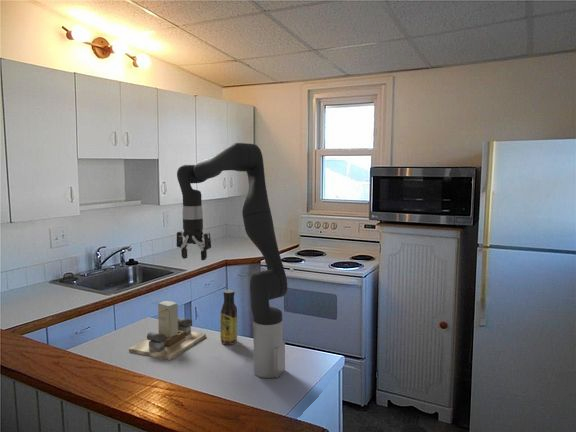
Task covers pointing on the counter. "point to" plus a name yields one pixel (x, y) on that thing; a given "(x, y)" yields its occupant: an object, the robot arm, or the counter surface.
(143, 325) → the counter surface
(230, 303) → the sauce bottle
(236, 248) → the counter surface
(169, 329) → the skincare box
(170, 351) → the board
